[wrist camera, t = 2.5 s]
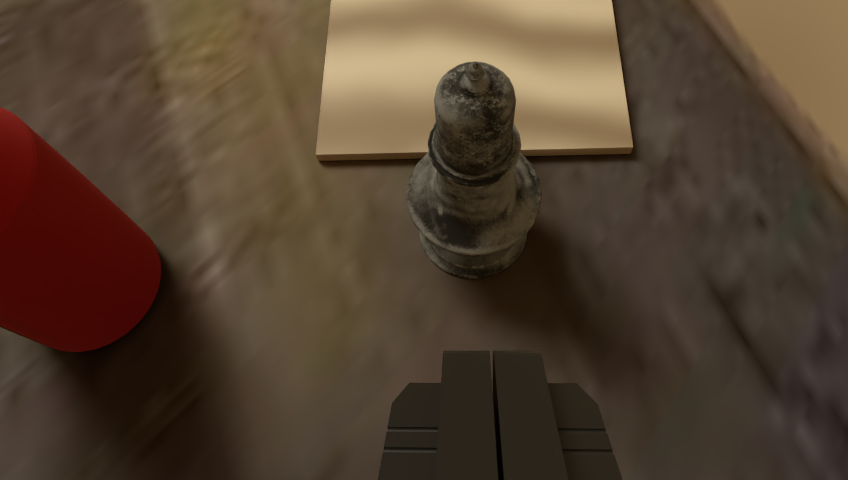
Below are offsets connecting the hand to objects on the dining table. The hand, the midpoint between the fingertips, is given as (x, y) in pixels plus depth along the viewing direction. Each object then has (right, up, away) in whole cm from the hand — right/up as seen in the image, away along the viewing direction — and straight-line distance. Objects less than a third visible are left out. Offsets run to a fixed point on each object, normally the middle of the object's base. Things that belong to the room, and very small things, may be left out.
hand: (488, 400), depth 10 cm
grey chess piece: (+1, +3, +21) cm, 21 cm away
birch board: (+2, +14, +26) cm, 29 cm away
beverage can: (-17, 0, +21) cm, 27 cm away
